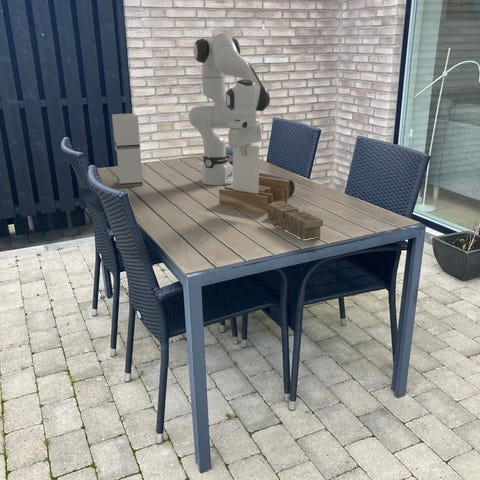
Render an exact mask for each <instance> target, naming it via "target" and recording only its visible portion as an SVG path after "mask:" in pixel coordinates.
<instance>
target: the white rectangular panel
mask: <svg viewBox="0 0 480 480" xmlns="http://www.w3.org/2000/svg"><path fill="white" fill-rule="evenodd" d="M245 151H246V156H241V151H240V149H239V147H238V148H233V165H232V166H233V183H232V188H233V190H237V191H243V192H249V193H255V194H258V193H259V173H260V145H255V144H252V145H245Z"/></svg>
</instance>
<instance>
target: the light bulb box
mask: <svg viewBox="0 0 480 480" xmlns="http://www.w3.org/2000/svg"><path fill="white" fill-rule="evenodd" d="M226 155H230V156H231V157H230V159H228V158H227V159H228V162H229V163H230V164H231V165H232V166H233V147H230V146H229V144H228V145H227V144H226Z"/></svg>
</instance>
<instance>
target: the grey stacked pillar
mask: <svg viewBox="0 0 480 480" xmlns="http://www.w3.org/2000/svg"><path fill="white" fill-rule="evenodd" d="M111 117H112V130H113V132H112V133H113V142H114V150H115V151H116V157H117V169H118V178H117V184H118V186H119V188H120V187H121V188H130V187H131V186H134V187H142V186H144V185H143V184H144V183H143V170H142V168H143V167H142V157H141V155H142V154H141V142H140V127H139V125H140V124H139V116H138V114H136V113H117V114H115V113H114V114H113V113H112V114H111ZM131 188H132V187H131Z"/></svg>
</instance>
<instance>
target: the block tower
mask: <svg viewBox="0 0 480 480" xmlns="http://www.w3.org/2000/svg"><path fill="white" fill-rule="evenodd" d="M267 218H268V219H269V220H272V221H273V222H274V224H275V225H277V226H279V227H281V228H282V229H284V230H287V231H288V232H290V233H292V234H294V235H296V236H298V237H300V238H301V239H309V238H314V237H320V238H321V228H322V227H323V226H324V219H321V218H320V217H316V216H314V215H313V214H311V213H309V212H307V211H304V210H302V211H300V209H299V208H298V207H295V206H293V205H292V204H290V203H289V202H288V203H285V202H284V201H277V202H272V204H268V213H267ZM275 225H274V226H275ZM277 226H276V227H277ZM279 227H278V228H279ZM281 228H280V229H281ZM282 229H281V230H282ZM284 230H283V231H284Z"/></svg>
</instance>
